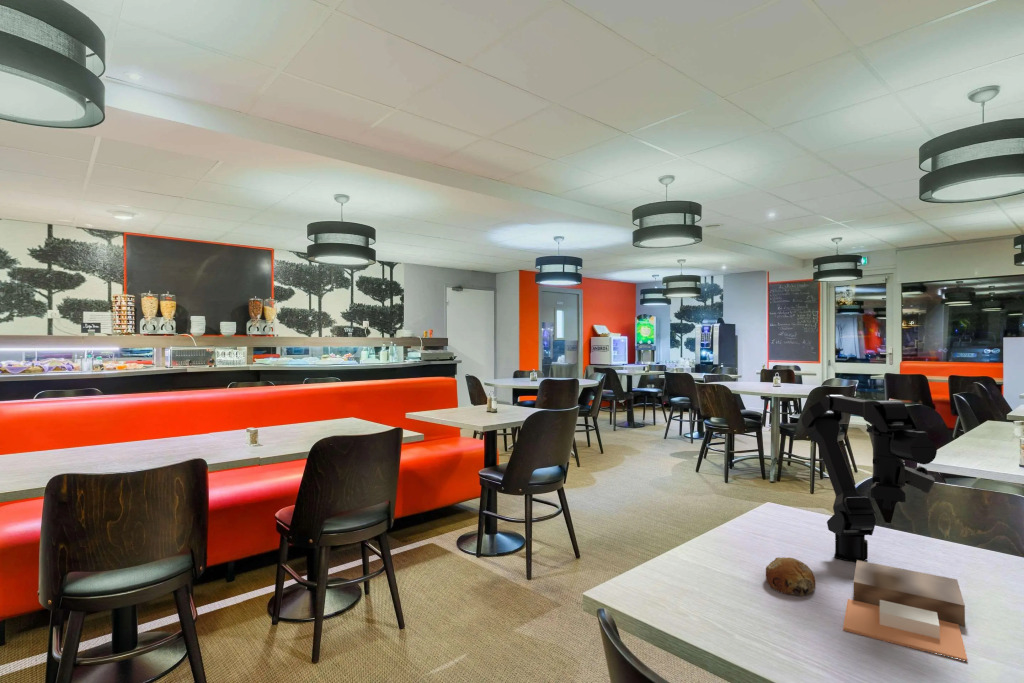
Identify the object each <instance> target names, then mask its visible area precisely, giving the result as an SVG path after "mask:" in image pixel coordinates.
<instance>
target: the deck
mask: <svg viewBox="0 0 1024 683" xmlns="http://www.w3.org/2000/svg"><path fill="white" fill-rule="evenodd" d="M855 563H856V564H855V570H854V577H853V600H855V601H859V602H864V603H868V604H872V605H877V606H880V600H884V601H888V602H892V603H897V604H901V605H906V606H910V607H915V608H919V609H924V610H928V611H933V612H937V615H938V620H941V621H946V622H950V623H954V624H959V626H961V627H966V606H965V602H964V598H963V594H962V591H961V588H960V585H959V581H958V579H957V578H953V577H952V578H951V577H946V576H940V575H936V574H931V573H925V572H921V571H915V570H911V569H904V568H900V567H895V566H889V565H884V564H878V563H873V562H868V561H865V562H864V561H859V560H857V562H855Z"/></svg>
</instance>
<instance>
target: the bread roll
mask: <svg viewBox="0 0 1024 683" xmlns="http://www.w3.org/2000/svg"><path fill="white" fill-rule="evenodd" d="M765 579H766V583H767V584H768V585H770V586H769V587H770V588H771V589H773V590H774V589H775V590H774V591H776V590H777V591H776V592H778V591H779V592H778V593H781V592H782V593H781V594H784V593H785V594H784V595H789V594H790V596H797V597H798V596H799V597H803V596H807V595H810V594H812V593H813V591H814V590H816V578H815V575H814V572H813V571H812V569H811V568H810V567H809V566H808V565H807V564H806V563H804V562H803V561H801V560H798V559H797V558H793V557H782V556H781V557H775V559H774V560H772V561H771V562H770V563H769V564H768V565H767V566H766V568H765Z"/></svg>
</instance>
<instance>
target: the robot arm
mask: <svg viewBox="0 0 1024 683" xmlns="http://www.w3.org/2000/svg"><path fill="white" fill-rule="evenodd" d="M844 413H845V414H848V415H853V416H858V417H861V418H863V420H864V421H865V422H867V423H869V424H872V425H871V426H868V427H867V428H866V430H865V432H866V433H869V434H872V477H871V478H872V481H871V482H872V485H871V487H870V498H872V499H874V501H875V504H876V505H877V508H878V509H879V511H880V514H881V515H882V518H883V520H884V523H886V524H892V521H893V517H894V514H895V509H896V505H897V503H899V502H900V503H906V498H907V497H906V489H904V487H906V484H907V485H909V486H910V487H913V488H916V489H919V490H921V492H923V493H925V494H930V493H931V490H932V488H933V486H934V484H935V483H936V480H935V477H933V475H931V474H928V470H927V468H926V467H924V466H921V465H929V464H931V463H932V462H933V461H934V460H935V458H936V457H937V453H938V451H937V450H938V448H937V447H936V444H935V442H934V441H933V440H932V439H930V438H929V437H928V432H927V431H921V430H920V428H919V427H918V424H917V422H916V421H915V420H914V417H913V415H912V414H911V412H910V410H909V409H908V406H906V404H905V402H904V401H901V400H867V399H866V400H865V399H863V398H862V399H860V398H856V397H850V396H845V395H843V394H826V395H823V396H822V397H821V399H820V400H819V401H817V402H816V403H814V404H812V405H811V406H809V407H808V408H807V410H806V411H805V413H804V414H803V415H802V417H801V424H802V425H803V426H802V427H803V428H804V431H805V432H806V434H807V437H809V438H810V439H811V440H812V441H814V442H815V443H816V444H817V447H818V448H819V452H820V455H821V457H822V460H823V464H824V466H825V469H826V471H827V475H828V478H829V480H830V484H831V487H832V489H833V491H834V494H835V499H834V502H833V506H832V508H833V515H832V516H831V517H830V518H829V519H828V520H827V521H826V524H827V530H828V531H830V532H832V533H833V534H834V539H835V540H834V541H835V544H834V546H835V547H834V548H835V550H834V551H835V552H834V555H833V556H834V558H835V559H838V560H844V561H848V562H854V563H856V562H857V560H859V561H864V562H866V561H867V560H868V557H869V555H868V553H869V552H868V551H869V549H868V548H869V546H868V545H869V542H868V540H867V539H866V536H873V533H874V530H875V527H876V525H877V524H876V523H877V517H876V511H875V509H874V507H873V504H872V501H871V499H870V498H869V497H868V496H862V495H861V494H860V493H859V492H858V490H857V488H856V485H855V483H854V480H853V477H852V475H851V472H850V469H849V466H848V464H847V462H846V458H845V456H844V453H843V450H842V449H841V446H840V443H839V442H840V441H839V439H838V438H839V434H840V433H841V432H840V431H841V426H840V423H841V422H842V421H843V419H845V418H844V416H845V415H844ZM905 461H908V462H912V463H914V464H915V463H916V464H920V465H918V466H916V467H915V468H913V467H909V466H906V463H905Z"/></svg>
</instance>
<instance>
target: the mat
mask: <svg viewBox="0 0 1024 683" xmlns="http://www.w3.org/2000/svg"><path fill="white" fill-rule="evenodd" d="M845 607H846V608H845V615H844V620H843V627H842V630H843V631H844V632H845V631H846V632H848V633H849V632H850V633H853V634H856V635H862V636H864V637H869V638H872V639H876V640H879V641H884V642H888V643H892V644H895V645H899V646H903V647H906V646H907V648H910V647H911V648H910V649H914V650H918V649H919V650H918V651H922V652H925V651H928V652H927V653H929V652H932V653H931V654H933V653H937V654H942V655H945V656H949V657H953V658H958V659H961V660H965V661H968V662H969V660H968V656H967V653H966V649H965V644H964V640H963V636H962V632H961V628H960V625H959V624H954V623H950V622H946V621H941V620H939V625H940V639H937V638H933V637H929V636H925V635H921V634H917V633H912V632H908V631H904V630H900V629H896V628H892V627H888V626H884V625H880V606H877V605H872V604H868V603H864V602H859V601H855V600H854V599H850V598H847V601H846V606H845ZM937 654H936V655H937ZM945 656H944V657H945Z"/></svg>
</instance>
